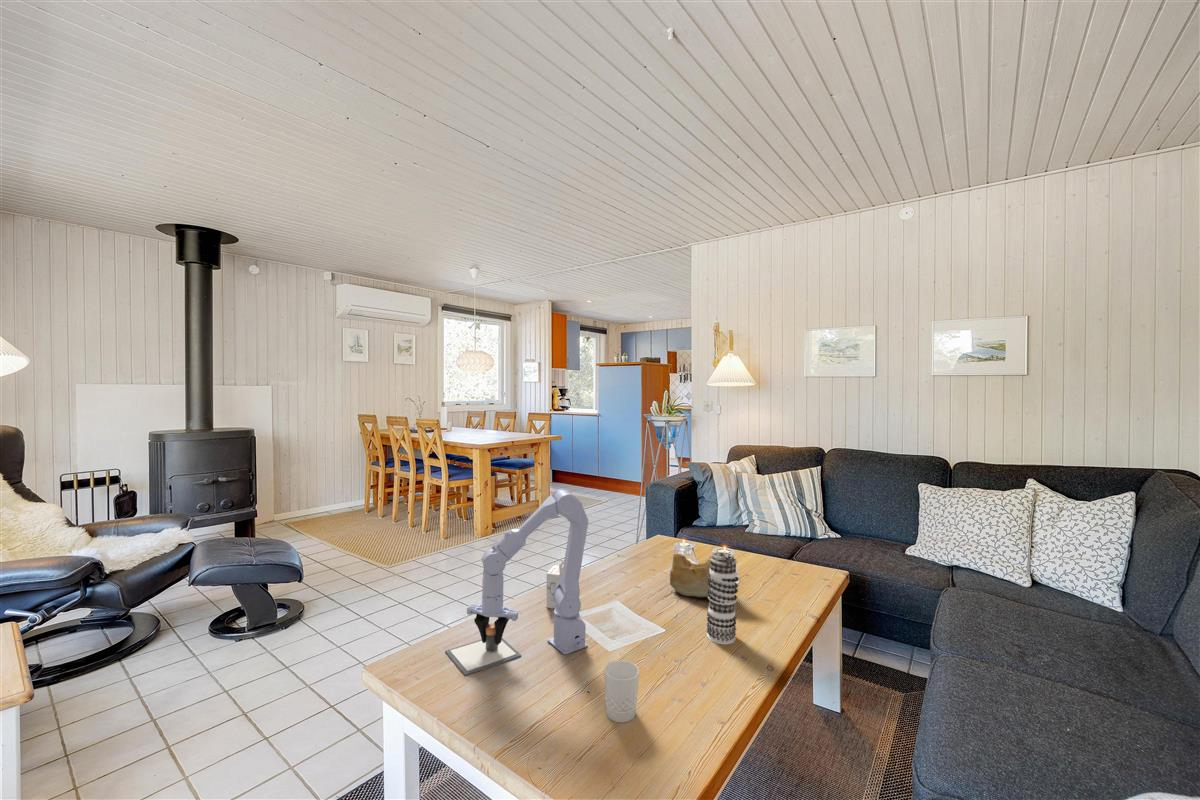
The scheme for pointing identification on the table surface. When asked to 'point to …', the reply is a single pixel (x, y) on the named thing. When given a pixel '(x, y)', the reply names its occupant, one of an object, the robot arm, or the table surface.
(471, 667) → the writing pad
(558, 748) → the table surface
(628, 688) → the white cup
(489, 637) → the orange-topped grey cylinder
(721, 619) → the decorative candle
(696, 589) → the rough brown rock
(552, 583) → the ink cartridge box
